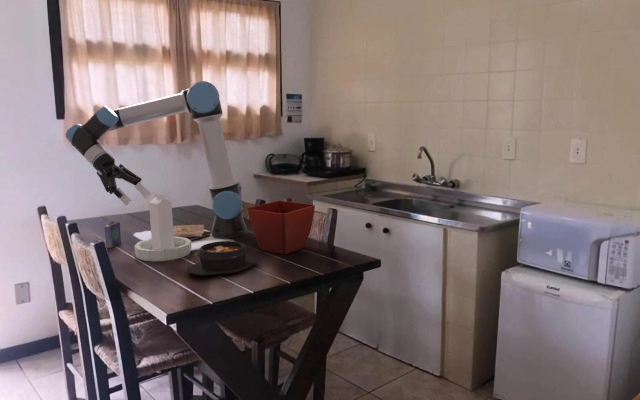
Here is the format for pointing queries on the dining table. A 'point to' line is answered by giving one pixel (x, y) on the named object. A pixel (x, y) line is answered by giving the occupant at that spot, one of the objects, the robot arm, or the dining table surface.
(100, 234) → the dining table surface
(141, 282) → the dining table surface
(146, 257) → the bowl
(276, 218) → the plant pot
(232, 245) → the casserole
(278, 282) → the dining table surface
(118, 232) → the flask
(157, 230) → the milk
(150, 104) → the robot arm
